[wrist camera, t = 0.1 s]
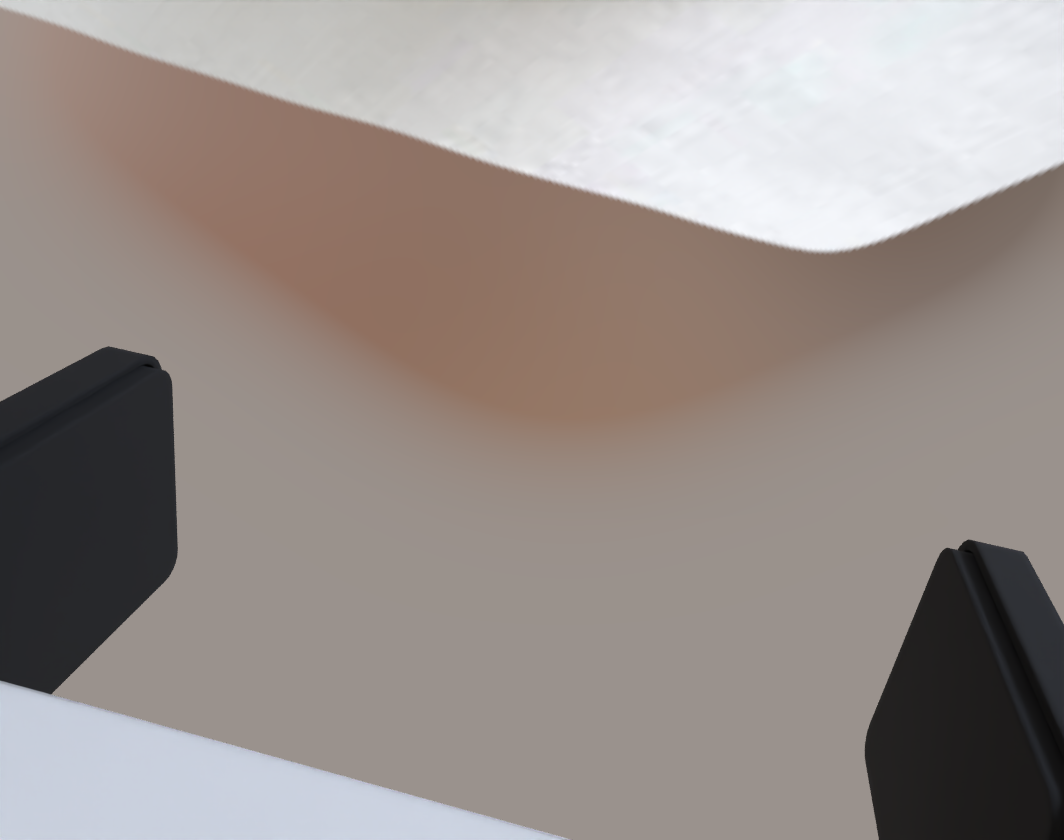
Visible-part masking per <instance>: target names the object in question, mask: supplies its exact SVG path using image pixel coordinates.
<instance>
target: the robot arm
mask: <svg viewBox="0 0 1064 840" xmlns="http://www.w3.org/2000/svg"><path fill="white" fill-rule="evenodd" d="M174 459H175V457H174V429H173V397H172V381H171V378H170V376H169V374H168V373H167V372H166V371H164V370H162V369H161V366H160V364H159V362H158V360H156V359H155V357H153V356H148V355H145V354H140V353H135V352H131V351H127V350H122V349H118V348H113V347H105V348H102V349H100V350H98V351H96V352H94V353H92V354H90V355H88V356H87V357H85V358H83V359H81V360H79V361H77V362H75V363H73V364H71V365H69V366H67V367H65V368H64V369H62V370H60V371H58V372H56V373H54V374H52V375H50V376H48V377H46V378H45V379H43V380H41V381H39V382H37V383H35V384H33V385H31V386H29V387H28V388H26V389H24V390H22V391H20V392H18V393H16V394H14V395H12V396H10V397H8V398H7V399H5V400H3V401H1V402H0V840H571V839H567V838H564V837H560V836H557V835H553V834H549V833H546V832H542V831H539V830H535V829H531V828H528V827H524V826H520V825H517V824H514V823H510V822H506V821H502V820H499V819H496V818H492V817H489V816H485V815H481V814H478V813H474V812H471V811H467V810H463V809H460V808H456V807H453V806H449V805H445V804H442V803H438V802H435V801H431V800H428V799H424V798H420V797H417V796H413V795H410V794H406V793H403V792H399V791H395V790H392V789H388V788H385V787H381V786H377V785H374V784H370V783H367V782H363V781H360V780H356V779H353V778H349V777H345V776H342V775H338V774H335V773H331V772H327V771H324V770H320V769H317V768H313V767H309V766H306V765H302V764H299V763H295V762H292V761H288V760H284V759H281V758H277V757H274V756H270V755H266V754H263V753H259V752H256V751H252V750H249V749H245V748H241V747H238V746H234V745H230V744H227V743H224V742H220V741H216V740H213V739H209V738H206V737H202V736H198V735H195V734H191V733H187V732H184V731H181V730H177V729H173V728H170V727H166V726H163V725H159V724H155V723H152V722H148V721H145V720H141V719H138V718H134V717H130V716H127V715H123V714H120V713H116V712H112V711H109V710H105V709H102V708H98V707H94V706H91V705H87V704H83V703H80V702H76V701H73V700H69V699H65V698H62V697H58V696H55V695H51V694H52V693H53V692H54V691H55V690H56V689H57V688H58V687H59V686H60V685H61V684H62V683H63V682H64V681H65V680H66V679H67V678H68V677H69V676H70V674H72V673H73V672H74V671H75V670H76V669H77V668H78V667H79V666H80V665H81V664H82V663H83V662H84V661H85V660H86V659H87V658H88V657H89V656H90V655H91V654H92V653H93V652H94V651H95V650H96V649H97V648H98V647H99V646H100V645H101V644H102V643H103V642H104V641H105V640H106V639H107V638H108V637H109V636H110V635H111V634H112V633H113V632H114V631H115V630H116V629H117V628H118V627H119V626H120V625H121V624H122V623H123V622H124V621H125V620H126V619H127V618H128V617H129V616H130V615H131V614H132V613H133V612H134V611H135V610H136V609H138V608H139V607H140V606H141V604H143V602H144V601H146V600H147V599H148V598H149V596H150V595H152V593H154V592H155V591H156V589H158V587H160V586H161V585H162V584H163V583H164V582H165V581H166V579H167V578H168V577H169V575H170V574H171V572H172V570H173V568H174V566H175V563H176V559H177V551H178V547H177V517H176V486H175V460H174ZM865 760H866V767H867V773H868V778H869V784H870V790H871V796H872V802H873V807H874V813H875V818H876V824H877V830H878V836H879V840H1064V624H1063V622H1062V621H1061V619H1060V617H1059V615H1058V613H1057V611H1056V609H1055V607H1054V606H1053V604H1052V602H1051V600H1050V598H1049V596H1048V595H1047V593H1046V591H1045V589H1044V587H1043V585H1042V583H1041V581H1040V580H1039V578H1038V576H1037V574H1036V572H1035V570H1034V568H1033V567H1032V565H1031V563H1030V561H1029V559H1028V557H1027V556H1026V555H1025V554H1024V552H1021V551H1017V550H1013V549H1008V548H1004V547H999V546H994V545H990V544H986V543H981V542H977V541H973V540H967V541H965V542H963V543H962V545H961V546H960V547H959V549H958V550H955V549H950V548H946V549H944V550H943V551H942V552H941V553H940V555H939V558H938V559H937V562H936V564H935V566H934V569H933V571H932V574H931V576H930V578H929V581H928V583H927V586H926V588H925V591H924V593H923V595H922V598H921V600H920V603H919V605H918V608H917V610H916V613H915V615H914V618H913V620H912V622H911V625H910V627H909V630H908V632H907V635H906V637H905V640H904V642H903V645H902V647H901V649H900V652H899V654H898V657H897V659H896V661H895V664H894V667H893V669H892V672H891V674H890V676H889V679H888V681H887V684H886V686H885V688H884V691H883V693H882V696H881V698H880V700H879V703H878V705H877V708H876V710H875V713H874V715H873V718H872V720H871V722H870V725H869V729H868V731H867V736H866V742H865Z"/></svg>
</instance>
